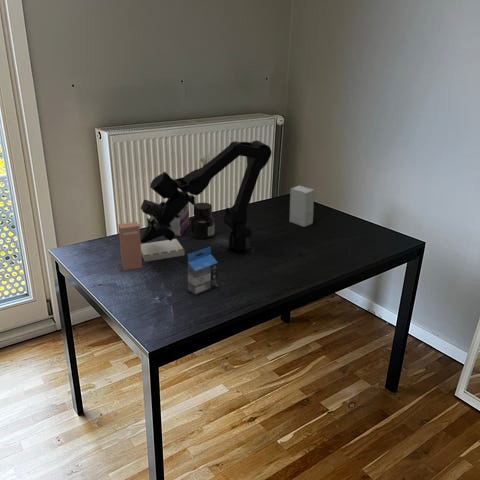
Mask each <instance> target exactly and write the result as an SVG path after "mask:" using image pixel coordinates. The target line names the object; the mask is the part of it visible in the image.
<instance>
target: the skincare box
mask: <svg viewBox="0 0 480 480" xmlns="http://www.w3.org/2000/svg"><path fill="white" fill-rule="evenodd" d="M289 199H290V200H289V220H288V221H289V223H292V224H295V225H298V226H300V227H303V228H305V227H307V226H311V225H312V224H313V221H314V205H315V204H314V203H315V189H313V188H311V187H310V188H309V187H306V186H303V185H297V186H294V187H292V188H290V195H289Z"/></svg>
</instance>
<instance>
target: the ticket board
mask: <svg viewBox="0 0 480 480" xmlns="http://www.w3.org/2000/svg"><path fill="white" fill-rule="evenodd" d="M185 255H186V254H185V249H184V247H183V245H181V243H180V242H179V240H178V239H177V238H173V239H172V241H170V240H168V239H166V240H160V241H153V242H152V241H151V242H146V243H141V256H142V260H143V261H144V262H145V263H146V262H151V261H157V260H163V259H170V258H177V257H182V256H185Z"/></svg>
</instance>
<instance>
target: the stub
mask: <svg viewBox="0 0 480 480" xmlns="http://www.w3.org/2000/svg"><path fill="white" fill-rule="evenodd" d="M117 226H118V235H119V236H118V237H119V249H120V259H121V260H120V261H121V268H122V270H123V271H130V270H135V269H141V268H143V261H142V260H143V257H142V255H141V244H142V242H141V231H140V230H141V228H140V227H141V226H140V224H139V223H138V221H133V222H124V223H119V224H118V225H117Z"/></svg>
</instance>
